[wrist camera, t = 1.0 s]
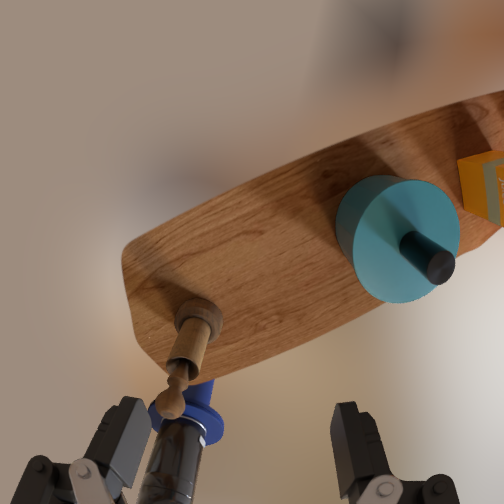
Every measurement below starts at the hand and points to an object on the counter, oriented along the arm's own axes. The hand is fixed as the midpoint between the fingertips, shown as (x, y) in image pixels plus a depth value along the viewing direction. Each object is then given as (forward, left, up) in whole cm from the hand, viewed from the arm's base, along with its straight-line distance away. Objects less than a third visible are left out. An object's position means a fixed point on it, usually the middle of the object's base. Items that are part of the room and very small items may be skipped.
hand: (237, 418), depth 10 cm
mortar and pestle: (-14, +4, -27) cm, 31 cm away
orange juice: (+18, -30, -27) cm, 44 cm away
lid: (+6, -15, -19) cm, 25 cm away
